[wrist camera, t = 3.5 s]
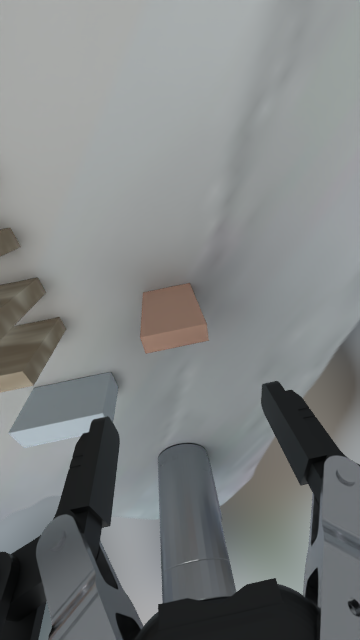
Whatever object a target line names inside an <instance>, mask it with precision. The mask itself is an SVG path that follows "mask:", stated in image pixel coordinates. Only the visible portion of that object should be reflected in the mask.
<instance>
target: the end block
mask: <svg viewBox="0 0 360 640" xmlns="http://www.w3.org/2000/svg"><path fill="white" fill-rule="evenodd" d="M117 393H118V386H117V384H116V382H115V379H114V377H113V375H112V373H111V372H108V373H104V374H99V375H94V376H89V377H85V378H80V379H75V380H70V381H65V382H61V383H56V384H51V385H46V386H42V387H37V388H34V389H33V391H32V392H31V394H30V396H29V398H28V399H27V401H26V403H25V405H24V406H23V408H22V410H21V412H20V413H19V415H18V417H17V419H16V420H15V422H14V424H13V426H12V428H11V429H10V431H9V434H10V435H11V436H12V437H13V438H14V439H15V440H16V441H17V442H18V443H19V444H20V445H21V446H22V447H23V448H26V447H31V446H36V445H41V444H45V443H50V442H55V441H59V440H64V439H69V438H73V437H78V436H82V434H83V433H87V432H89V429H90V425H91V422H92V420H93V419H98V418H102V417H107V416H108V417H110V419H111V421H112V423H113V419H114V413H115V406H116V399H117Z"/></svg>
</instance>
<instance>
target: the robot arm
mask: <svg viewBox="0 0 360 640" xmlns="http://www.w3.org/2000/svg"><path fill="white" fill-rule="evenodd" d="M261 404H262V409H263V412H264V414H265V416H266V418H267V420H268V422H269V424H270V426H271V428H272V430H273V432H274V434H275V436H276V438H277V439H278V442H279V444H280V446H281V448H282V450H283V452H284V454H285V456H286V458H287V460H288V462H289V463H290V466H291V468H292V470H293V472H294V474H295V475H296V477H297V479H298V481H299V483H300V485H305V484H309V486H310V488H311V490H312V492H313V497H312V510H311V523H310V536H309V547H308V553H307V558H306V565H305V576H304V589H303V595H301V594H300V593H299V592H297V591H295V590H293V589H291V588H288V587H286V586H283V585H279V584H277V581H276V579H275V578H274V579H269V580H265V581H261V582H256V583H252V584H247V585H246V586H244V587H243V588H241V589H240V590H239V591H238V592H236V589H235V584H234V579H233V575H232V570H231V565H230V561H229V557H228V552H227V547H226V542H225V537H224V533H223V528H222V523H221V522H222V515H221V510H220V506H219V501H218V497H217V492H216V487H215V483H214V478H213V474H212V469H211V465H210V460H209V458H208V457H207V453H206V450H205V449H204V448H203V447H201V446H198V445H194V444H181V445H176V446H173V447H170V448H168V449H166V450H165V451H164V452H162V453H161V454H160V456H159V458H158V478H159V511H160V541H161V569H162V594H163V595H162V598H163V604H158V610H159V611H158V612H157V613H156V614H155V615H154V616H153V617H152V618H151V619H150V620H149V621H148V622H147V623H146V624H145V625H144V627H143V624H142V622H141V620H140V618H139V616H138V614H137V612H136V610H135V607H134V606H133V604H132V602H131V600H130V599H129V597H128V595H127V594H126V593H125V591H124V590H123V588H122V586H121V584H120V582H119V580H118V578H117V576H116V574H115V572H114V569H113V567H112V565H111V563H110V561H109V558H108V556H107V554H106V552H105V550H104V547H103V545H102V543H101V541H100V535H101V529H102V528H104V527H108V526H110V522H111V514H112V506H113V497H114V488H115V479H116V471H117V462H118V453H119V444H120V440H119V434H118V431H117V430H116V428H115V426H114V424H113V423H112V421H111V419H110V417H108V416H107V417H102V418H98V419H93V420H92V422H91V425H90V429H89V432H87V433H83V434H82V436H81V437H80V439H79V441H78V442H77V444H76V446H75V450H74V453H73V459H72V460H71V464H70V470H69V471H68V474H67V478H66V482H65V485H64V489H63V492H62V496H61V500H60V503H59V506H58V510H57V513H56V515H55V517H54V519H53V520H52V521H51V522H50V523H49V524H48V525H47V527H46V528H45V529H44V531H43V532H42V534H41V535H40V536H39V537H38V538H36V539H35V540H33V541H32V542H30V543H28V544H27V545H25V546H23V547H22V548H20V549H19V550H17V551H15V552H14V553H12V554H8V553H6V552H0V640H38V638H39V633H40V629H41V624H42V619H43V614H44V610H45V605H46V601H47V603H48V608H49V612H50V615H51V620H52V630H51V632H50V634H49V639H48V640H360V465H359V464H357V463H355V462H354V461H352V460H350V459H349V458H347V457H346V456H345V455H344V454H343V453H342V452H341V451H340V450H339V449H338V447H337V446H336V444H335V443H334V442H333V440H332V439H331V437H330V436H329V435H328V433H327V432H326V431H325V429H324V428H323V426H322V425H321V424H320V422H319V421H318V419H317V418H316V417H315V415H314V414H313V412H312V411H311V410H310V409H309V407H308V406H307V404H306V403H305V401H304V400H303V399H302V397H301V396H299V395H298V394H297V393H295V392H294V391H293V390H287V391H285V390H284V388H283V387H282V385H281V384H280V383H279V382H278V381H275V382H270V383H265V384H263V385H262V397H261Z"/></svg>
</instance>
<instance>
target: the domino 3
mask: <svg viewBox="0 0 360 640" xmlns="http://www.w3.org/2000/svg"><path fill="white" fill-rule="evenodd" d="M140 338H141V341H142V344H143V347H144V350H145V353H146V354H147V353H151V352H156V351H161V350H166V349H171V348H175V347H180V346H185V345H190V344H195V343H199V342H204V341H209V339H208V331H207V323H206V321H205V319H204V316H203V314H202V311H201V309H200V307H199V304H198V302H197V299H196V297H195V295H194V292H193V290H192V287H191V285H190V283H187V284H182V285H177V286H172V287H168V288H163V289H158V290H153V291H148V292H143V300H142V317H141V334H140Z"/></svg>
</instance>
